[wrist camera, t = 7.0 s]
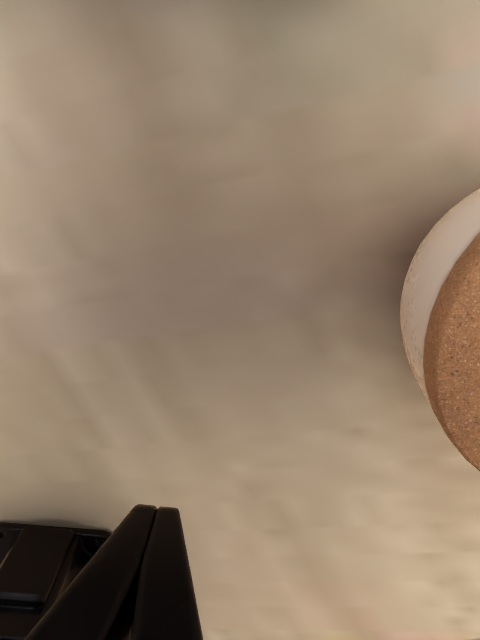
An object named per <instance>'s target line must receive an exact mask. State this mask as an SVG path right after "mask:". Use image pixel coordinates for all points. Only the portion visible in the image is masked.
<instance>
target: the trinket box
mask: <svg viewBox="0 0 480 640" xmlns="http://www.w3.org/2000/svg"><path fill="white" fill-rule="evenodd" d="M400 324H401V332H402V338H403V344H404V348H405V351H406V355H407V358H408V361H409V364H410V367H411V369H412V371H413V374H414V376H415V379H416V380H417V382H418V384H419V386H420V388H421V390H422V391H423V393H424V395H425V397H426V398H427V400H428V402H429V403H430V405H431V407H432V409H433V411H434V413H435V415H436V417H437V419H438V421H439V422H440V424H441V426H442V428H443V430H444V432H445V433H446V435H447V436H448V438H449V439H450V440H451V442H452V443H453V444H454V445H455V447H456V448H457V449H458V450H459V452H460V453H461V454H462V455H463V456H464V458H465V459H466V460H467V461H468V462H469V463H471V464H472V465H473V466H474V467H475V468H477V469H478V470H479V471H480V188H479V189H477V190H476V191H474V192H472V193H471V194H470V195H468V196H467V197H466V198H464V199H463V200H462V201H460V202H459V203H458V204H456V205H455V206H454V207H453V208H451V209H450V210H449V211H448V212H447V213H446V214H445V215H444V216H443V217H442V218H441V219H440V220H439V221H438V222H437V223H436V224H435V225H434V227H433V228H432V229H431V231H430V232H429V233H428V234H427V236H426V237H425V238H424V240H423V241H422V243H421V245H420V246H419V248H418V250H417V252H416V254H415V255H414V257H413V259H412V262H411V264H410V267H409V270H408V272H407V275H406V278H405V281H404V286H403V291H402V296H401V303H400Z"/></svg>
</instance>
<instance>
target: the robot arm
mask: <svg viewBox="0 0 480 640" xmlns="http://www.w3.org/2000/svg"><path fill="white" fill-rule="evenodd" d="M1 532H2V533H1ZM102 540H104V541H102ZM0 640H203V636H202V630H201V625H200V620H199V614H198V609H197V604H196V598H195V593H194V588H193V582H192V577H191V572H190V566H189V561H188V556H187V550H186V545H185V540H184V534H183V529H182V524H181V518H180V513H179V510H178V509H177V508H172V507H159V508H158V509H157V507H156V506H152V505H142V504H139V505H136V506H135V507H134V508H133V509H132V510H131V511H130V513H129V514H128V515H127V516H126V517H125V519H124V520H123V521H122V522H121V523H120V525H119V526H118V527H117V528H116V530H115V531H114V532H113V533H112V534H110V533H109V532H107V531H104V530H93V529H80V528H67V527H54V526H42V525H29V524H16V523H3V522H2V523H0Z"/></svg>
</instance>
